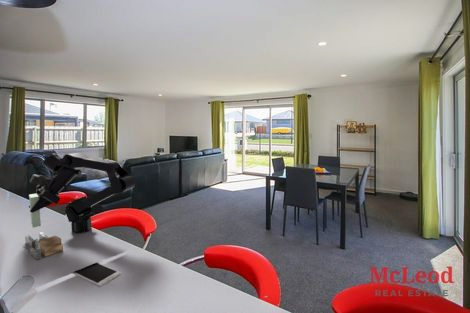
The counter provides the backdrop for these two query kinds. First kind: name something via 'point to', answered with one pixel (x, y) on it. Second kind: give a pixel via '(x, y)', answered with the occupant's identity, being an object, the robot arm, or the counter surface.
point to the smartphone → (97, 273)
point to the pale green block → (35, 215)
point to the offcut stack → (51, 245)
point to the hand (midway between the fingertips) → (30, 209)
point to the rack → (35, 246)
